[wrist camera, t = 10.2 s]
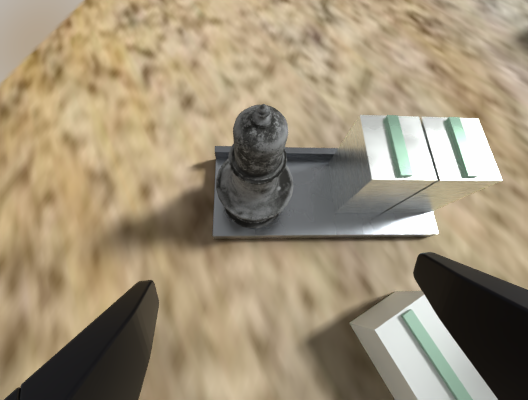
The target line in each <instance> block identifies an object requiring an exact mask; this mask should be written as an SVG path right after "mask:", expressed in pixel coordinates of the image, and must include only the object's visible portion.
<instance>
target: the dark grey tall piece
mask: <svg viewBox="0 0 528 400" xmlns="http://www.w3.org/2000/svg"><path fill="white" fill-rule="evenodd" d="M233 136H234V144H233V145H232V147H231V148H230V152H229V158H228V159H227V160H226V161H225V162H224V163H223V165H222V166H221V168H220V169H219V171H218V175H217V178H216V191H217V194H218V197H219V200H220V201H221V203H222V204H223V206H224V208H225V211H226V213H227V214H228V216H229V217H230V219H232V220H233V221H234V222H235V223H236V224H238V225H240V226H242V227H246V228H261V227H264V226H267V225H268V224H270V223H272V222H273V221H274V220H275V219H276V218H277V217H278V215H279V213H280V212H281V211H282V210H283V209H284V208H285V207H286V206H287V205H288V203H289V201H290V199H291V197H292V192H293V178H292V175H291V173H290V170H289V168H288V167H287V166H286V162H287V156H286V151H285V149H284V147H285V144H286V140H287V136H288V125H287V122H286V119H285V117H284V116H283V115H282V114H281V113H280V112H279V111H278V110H276V109H275V108H273V107H271V106H267V105H265V104H262V105H255V106H251V107H249V108H247V109H245V110H244V111H242V112H241V113H240V114H239V115H238V117H237V118H236V121H235V124H234V127H233Z"/></svg>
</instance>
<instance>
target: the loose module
mask: <svg viewBox="0 0 528 400" xmlns="http://www.w3.org/2000/svg"><path fill="white" fill-rule="evenodd" d="M349 324H350V325H351V327H352V329H353V330H354V332H355V334H356V335H357V337H358V339H359V340H360V342H361V344H362V346H363V347H364V349H365V351H366V352H367V354H368V356H369V357H370V359H371V361H372V362H373V364H374V366H375V367H376V369H377V371H378V372H379V374H380V376H381V377H382V379H383V381H384V383H385V384H386V386H387V388H388V389H389V391H390V393H391V394H392V396H393V398H394V399H395V400H498V399H497V398H496V396H495V395H494V394H493V392H492V391H491V389H490V388H489V387H488V385H487V384H486V383H485V381H484V380H483V378H482V377H481V376H480V374H479V373H478V372H477V370H476V369H475V368H474V366H473V365H472V363H471V362H470V361H469V359H468V358H467V357H466V355H465V354H464V352H463V351H462V350H461V348H460V347H459V346H458V344H457V343H456V341H455V340H454V339H453V337H452V336H451V335H450V333H449V332H448V330H447V329H446V328H445V326H444V325H443V324H442V322H441V321H440V319H439V318H438V316H437V315H436V313H435V311H434V310H433V308H432V306H431V305H430V303H429V301H428V300H427V298H426V296H425V295H424V293H423V291H395V292H394V293H392V294H391V295H389V296H388V297H386V298H385V299H383V300H382V301H380V302H379V303H377V304H376V305H375V306H373V307H372V308H370V309H369V310H367V311H366V312H364V313H363V314H361V315H360V316H358V317H357V318H355V319H354V320H353V321H351V322H350V323H349Z"/></svg>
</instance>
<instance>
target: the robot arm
mask: <svg viewBox="0 0 528 400" xmlns="http://www.w3.org/2000/svg"><path fill="white" fill-rule="evenodd" d="M413 274H414V278H415V280H416V282H417V283H418V285H419V287H420V288H421V290H422V291H423V293H424V295H425V296H426V298H427V300H428V301H429V303H430V305H431V306H432V308H433V310H434V311H435V313H436V315H437V316H438V318H439V319H440V321H441V322H442V324H443V325H444V326H445V328H446V329H447V330H448V332H449V333H450V335H451V336H452V337H453V339H454V340H455V341H456V343H457V344H458V346H459V347H460V348H461V350H462V351H463V352H464V354H465V355H466V357H467V358H468V359H469V361H470V362H471V363H472V365H473V366H474V368H475V369H476V370H477V372H478V373H479V374H480V376H481V377H482V378H483V380H484V381H485V383H486V384H487V385H488V387H489V388H490V389H491V391H492V392H493V394H494V395H495V396H496V398H497V399H498V400H528V290H527V289H524V288H522V287H519V286H517V285H514V284H512V283H509V282H506V281H504V280H501V279H499V278H496V277H494V276H491V275H489V274H486V273H484V272H481V271H479V270H476V269H473V268H471V267H468V266H466V265H463V264H461V263H458V262H456V261H453V260H451V259H448V258H445V257H443V256H440V255H438V254H435V253H432V252H428V253H421V254H419V255H418V257H417V261H416V264H415V268H414V271H413ZM158 307H159V300H158V296H157V292H156V287H155V284H154V282H153V281H152V280H146V281H139V282H138V283H136V284H135V285H134V286H133V287H132V288H131V289H129V290H128V291H127V292H126V293H125V294H124V295H123V296H121V297H120V298H119V299H118V300H117V301H116V302H115V303H113V304H112V305H111V306H110V307H109V308H108V309H107V310H105V311H104V312H103V313H102V314H101V315H100V316H99V317H98V318H96V319H95V320H94V321H93V322H92V323H91V324H90V325H88V326H87V327H86V328H85V329H84V330H83V331H82V332H80V333H79V334H78V335H77V336H76V337H75V338H74V339H72V340H71V341H70V342H69V343H68V344H67V345H66V346H65V347H63V348H62V349H61V350H60V351H59V352H58V353H57V354H55V355H54V356H53V357H52V358H51V359H50V360H49V361H47V362H46V363H45V364H44V365H43V366H42V367H41V368H39V369H38V370H37V371H36V372H35V373H34V374H33V375H32V376H30V377H29V378H28V379H27V380H26V381H25V382H24V383H22V385H21V388H17V389H15V390H14V391H13V392H12V393H11V394H10V395H9V396H7V397H6V398H5V399H4V400H138V399H139V395H140V392H141V388H142V385H143V381H144V377H145V374H146V370H147V367H148V363H149V359H150V354H151V349H152V343H153V337H154V331H155V325H156V319H157V313H158Z"/></svg>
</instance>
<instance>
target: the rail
mask: <svg viewBox="0 0 528 400" xmlns="http://www.w3.org/2000/svg"><path fill="white" fill-rule="evenodd" d="M231 147H232V146H215V156H216V172H215V195H214V218H213V238H214V239H258V238H347V237H430V236H433V235H436V234H439V233H438V229H437V226H436V222H435V218H434V214H433V211H434V210H437V209H439V208H441V207H443V206H446V205H448V204H450V203H453V202H455V201H457V200H459V199H462V198H464V197H466V196H469V195H471V194H473V193H475V192H478V191H480V190H482V189H485V188H487V187H489V186H491V185H494V184H496V183H498V182H501V181H502V178H501V175H500V173H499V170H498V168H497V165H496V163H495V160H494V157H493V155H492V152H491V150H490V147H489V145H488V142H487V139H486V137H485V134H484V132H483V129H482V127H481V124H480V121H479V119H478V118H460V117H449V118H445V117H421V118H420V119H419V117H411V116H396V115H387V116H377V115H359V117H358V118H357V120H356V122H355V123H354V125H353V126H352V128H351V129H350V131H349V132H348V134H347V135H346V137H345V138H344V140H343V142H342V143H341V145H340V146H339V148H288V147H284V149H285V151H286V156H287V162H286V166H287V167H288V168H289V170H290V173H291V175H292V178H293V192H292V197H291V199H290V201H289V203H288V205H287V206H286V207H285V208H284V209H283V210H282V211H281V212H280V213H279V215H278V217H277V218H276V219H275V220H274V221H273V222H272V223H270V224H268V225H267V226H264V227H261V228H246V227H242V226H240V225H238V224H236V223H235V222H234V221H233V220H232V219H230V217H229V216H228V214H227V213H226V211H225V208H224V206H223V204H222V203H221V201H220V200H219V197H218V194H217V191H216V178H217V175H218V171H219V169H220V168H221V166H222V165H223V163H224V162H225V161H226V160H227V159H228V158H229V152H230V148H231Z"/></svg>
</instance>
